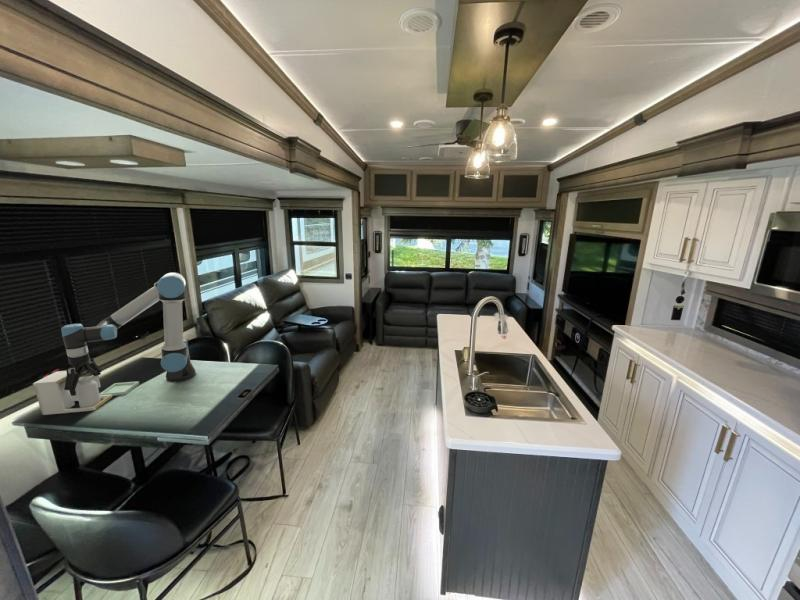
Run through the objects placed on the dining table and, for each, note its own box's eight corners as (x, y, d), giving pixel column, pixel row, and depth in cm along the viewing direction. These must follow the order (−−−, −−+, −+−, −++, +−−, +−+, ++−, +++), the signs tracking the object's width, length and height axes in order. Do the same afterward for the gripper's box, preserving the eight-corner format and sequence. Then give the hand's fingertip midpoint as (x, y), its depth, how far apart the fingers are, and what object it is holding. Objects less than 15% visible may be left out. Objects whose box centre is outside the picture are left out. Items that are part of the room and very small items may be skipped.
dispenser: (112, 396, 171) (105, 367, 167) (94, 410, 159) (86, 379, 155) (64, 401, 168) (56, 371, 164) (42, 415, 155) (32, 383, 151)
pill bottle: (88, 409, 159) (81, 382, 156) (75, 407, 161) (68, 380, 158) (105, 401, 167) (99, 375, 164) (93, 399, 169) (86, 373, 165)
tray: (139, 384, 185) (138, 381, 185) (125, 394, 173) (124, 391, 173) (115, 385, 183) (114, 383, 183) (99, 396, 171) (98, 394, 171)
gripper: (89, 346, 169) (97, 382, 174) (46, 365, 145) (57, 407, 150) (105, 345, 170) (112, 381, 175) (65, 364, 146) (76, 406, 151)
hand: (87, 393), depth 162 cm, fingers open, 13 cm apart
